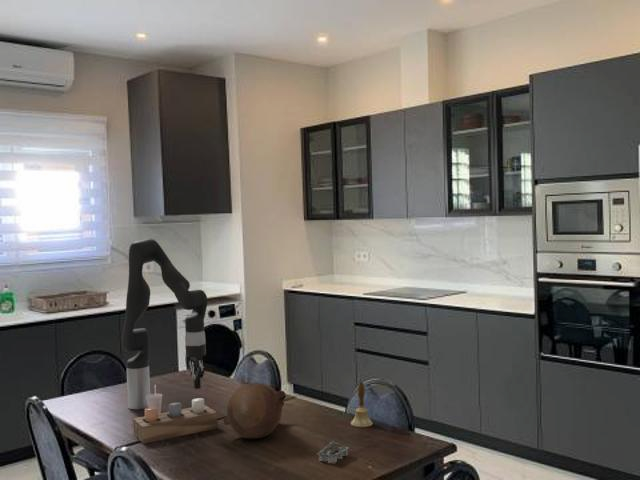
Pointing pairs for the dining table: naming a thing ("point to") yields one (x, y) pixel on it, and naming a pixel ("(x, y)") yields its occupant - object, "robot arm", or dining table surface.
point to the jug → (254, 410)
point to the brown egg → (151, 414)
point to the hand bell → (361, 411)
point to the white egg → (198, 405)
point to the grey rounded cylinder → (175, 410)
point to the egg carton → (328, 452)
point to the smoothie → (154, 400)
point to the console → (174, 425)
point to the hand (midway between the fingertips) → (197, 388)
